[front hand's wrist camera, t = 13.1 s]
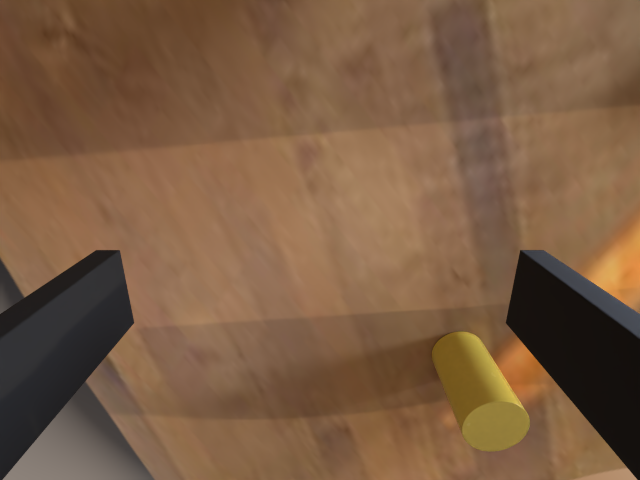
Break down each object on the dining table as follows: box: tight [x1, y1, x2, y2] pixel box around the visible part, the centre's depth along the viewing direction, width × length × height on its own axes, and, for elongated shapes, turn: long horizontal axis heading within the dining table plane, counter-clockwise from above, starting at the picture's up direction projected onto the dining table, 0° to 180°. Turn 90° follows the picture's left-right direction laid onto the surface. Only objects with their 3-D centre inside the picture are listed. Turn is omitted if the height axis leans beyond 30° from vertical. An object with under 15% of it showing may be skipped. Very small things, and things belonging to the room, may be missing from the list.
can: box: [432, 332, 530, 451], centre depth 41 cm, size 6×6×11 cm
